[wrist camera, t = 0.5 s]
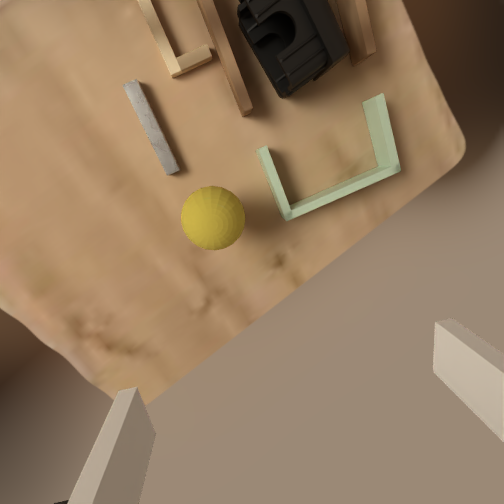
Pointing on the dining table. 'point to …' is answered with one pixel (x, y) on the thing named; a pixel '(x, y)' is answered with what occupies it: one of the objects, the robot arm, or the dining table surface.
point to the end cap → (292, 40)
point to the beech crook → (173, 63)
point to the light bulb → (213, 218)
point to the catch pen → (386, 167)
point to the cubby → (354, 27)
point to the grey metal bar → (151, 126)
